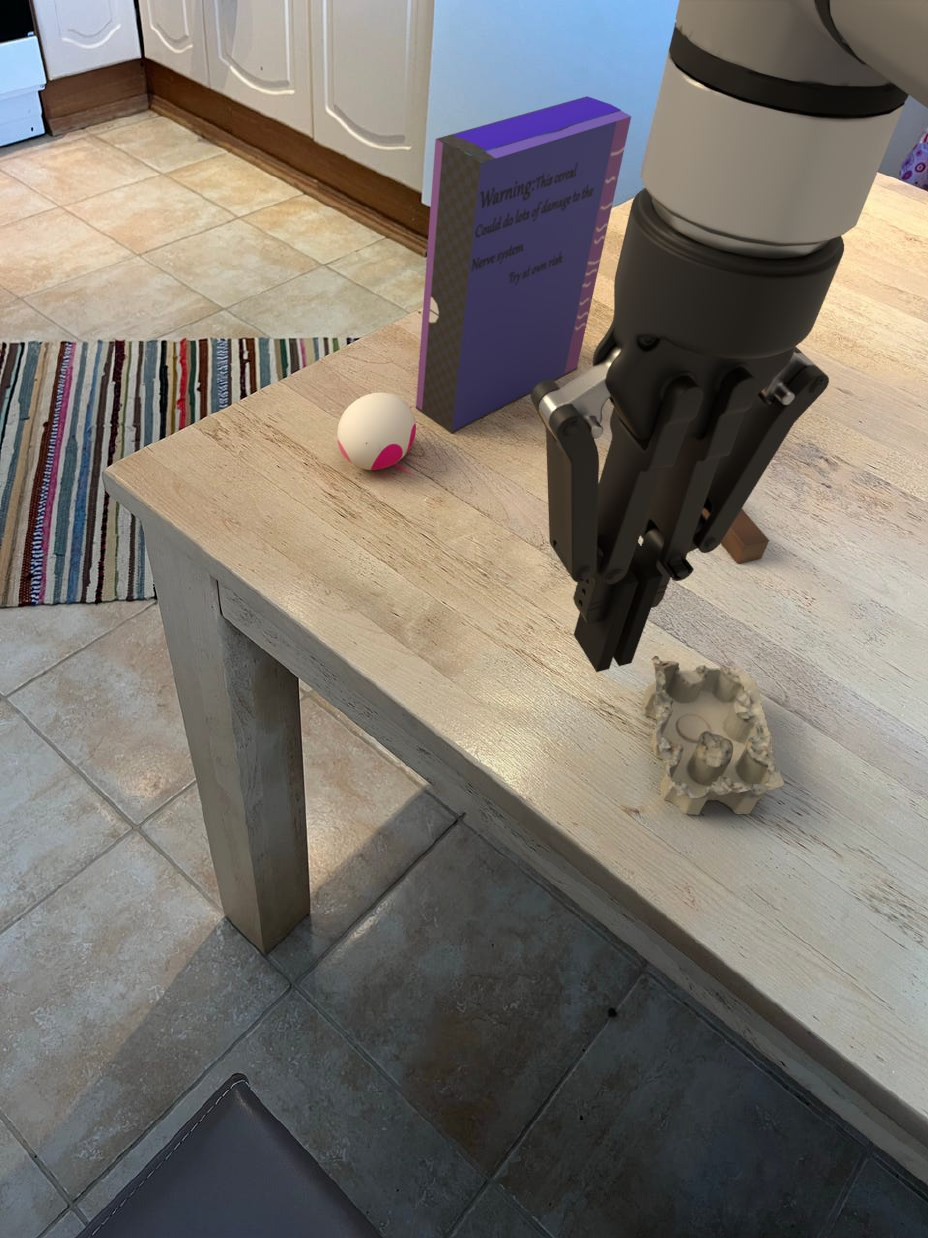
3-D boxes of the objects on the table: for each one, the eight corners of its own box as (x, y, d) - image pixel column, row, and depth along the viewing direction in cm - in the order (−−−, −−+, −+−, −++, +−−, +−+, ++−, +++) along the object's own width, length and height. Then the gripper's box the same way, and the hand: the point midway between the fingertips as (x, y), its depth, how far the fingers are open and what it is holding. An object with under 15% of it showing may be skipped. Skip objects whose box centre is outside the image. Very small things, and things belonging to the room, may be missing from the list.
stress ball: (366, 516, 82) (403, 487, 76) (305, 443, 80) (338, 408, 75) (418, 472, 86) (457, 441, 80) (361, 401, 84) (396, 365, 79)
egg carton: (634, 686, 68) (648, 648, 65) (737, 692, 68) (756, 655, 65) (655, 817, 60) (672, 781, 57) (770, 822, 61) (793, 787, 58)
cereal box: (541, 347, 96) (587, 93, 79) (576, 369, 94) (631, 113, 77) (415, 408, 87) (435, 135, 70) (451, 433, 85) (481, 159, 68)
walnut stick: (761, 558, 78) (769, 540, 77) (737, 563, 77) (745, 546, 76) (643, 417, 90) (649, 399, 89) (621, 420, 89) (626, 402, 88)
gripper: (834, 151, 37) (676, 574, 55) (519, 173, 33) (456, 626, 50) (965, 241, 33) (748, 671, 50) (621, 280, 28) (513, 737, 46)
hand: (602, 648), depth 50 cm, fingers closed
